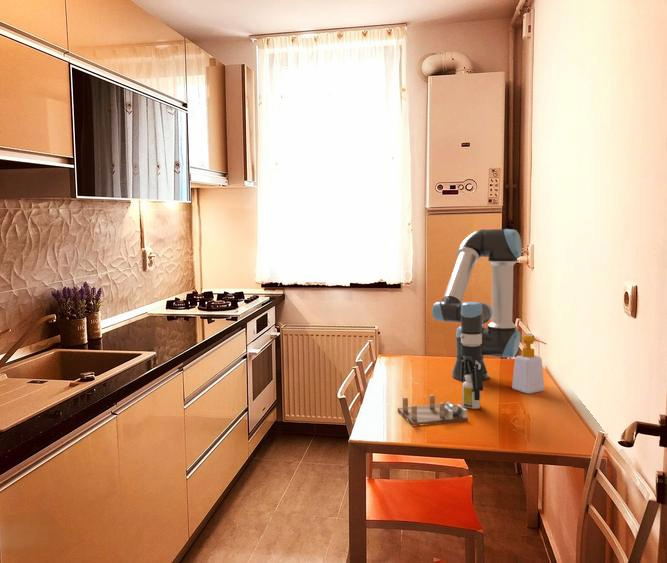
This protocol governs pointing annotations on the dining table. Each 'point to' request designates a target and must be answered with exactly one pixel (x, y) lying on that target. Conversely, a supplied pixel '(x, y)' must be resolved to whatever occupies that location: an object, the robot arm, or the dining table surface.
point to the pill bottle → (467, 391)
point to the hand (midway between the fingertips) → (471, 404)
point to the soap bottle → (528, 369)
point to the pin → (453, 408)
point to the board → (431, 413)
